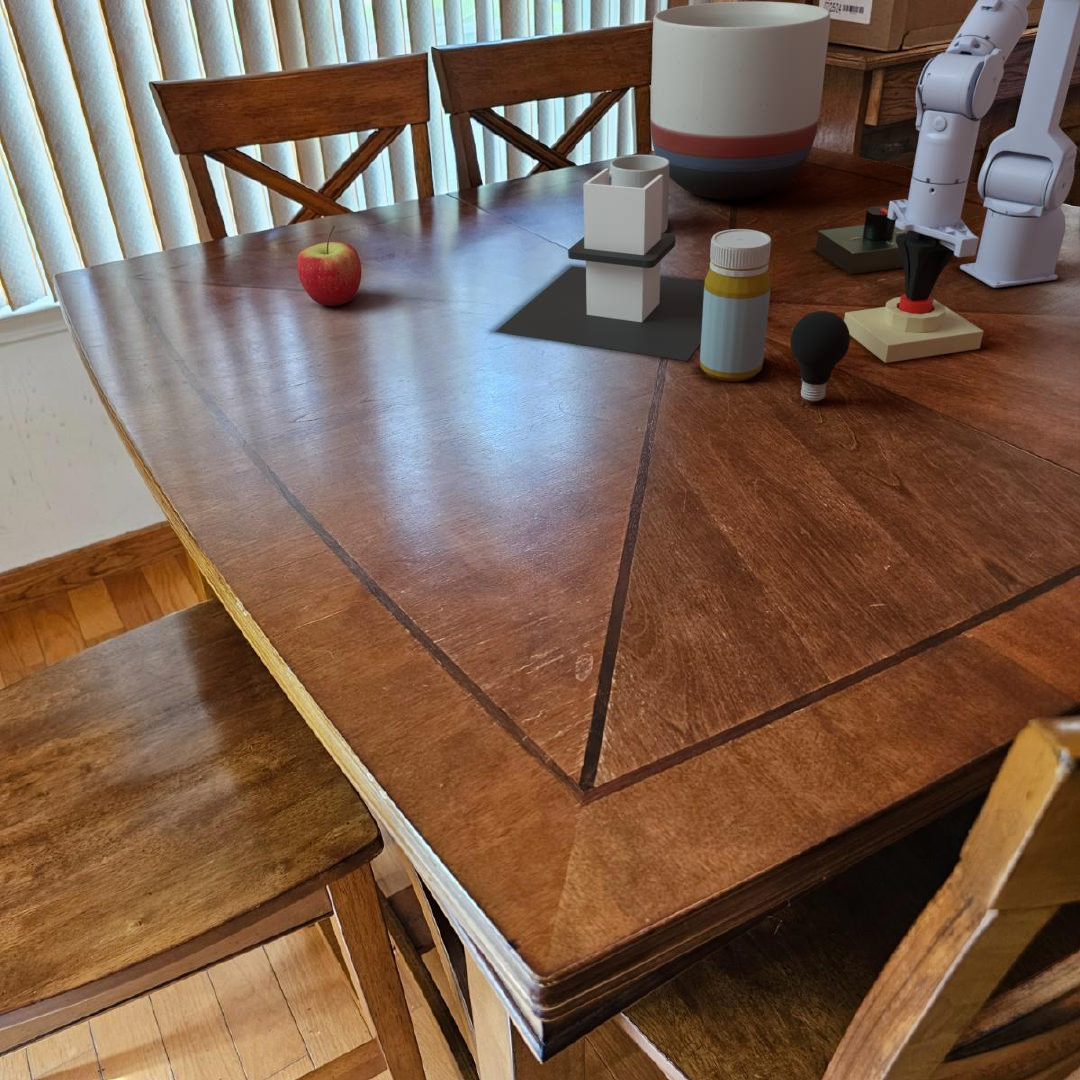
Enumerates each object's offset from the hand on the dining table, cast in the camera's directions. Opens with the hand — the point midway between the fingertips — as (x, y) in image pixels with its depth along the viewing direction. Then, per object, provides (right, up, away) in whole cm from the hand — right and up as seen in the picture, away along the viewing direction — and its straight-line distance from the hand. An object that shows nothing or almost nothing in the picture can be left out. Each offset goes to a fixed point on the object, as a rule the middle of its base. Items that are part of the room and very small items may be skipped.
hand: (916, 298), depth 114 cm
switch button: (0, -1, +1) cm, 2 cm away
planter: (-12, +31, +53) cm, 62 cm away
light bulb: (-15, -13, -9) cm, 22 cm away
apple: (-71, +4, +20) cm, 74 cm away
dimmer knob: (+4, +14, +24) cm, 28 cm away
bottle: (-22, -9, -2) cm, 24 cm away
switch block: (0, -4, +3) cm, 5 cm away
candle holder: (-33, +2, +14) cm, 36 cm away
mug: (-29, +20, +40) cm, 53 cm away
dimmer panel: (+4, +12, +25) cm, 28 cm away
